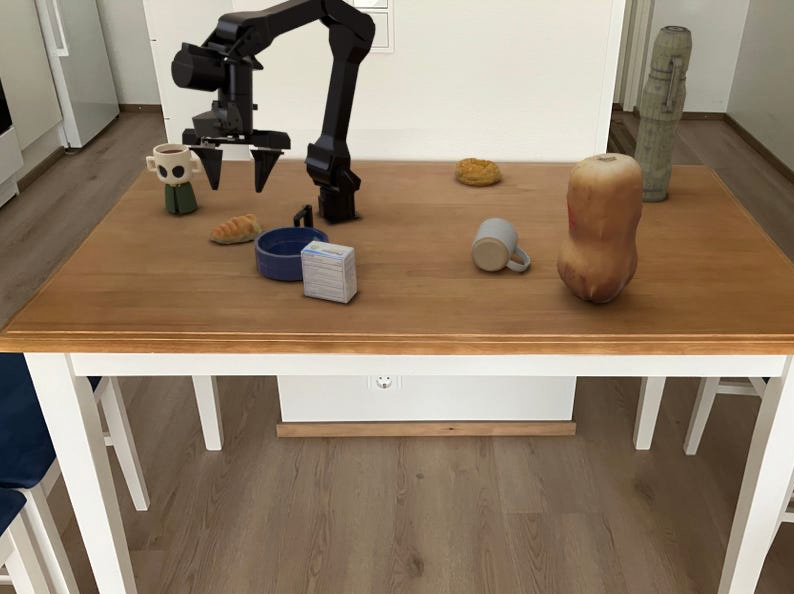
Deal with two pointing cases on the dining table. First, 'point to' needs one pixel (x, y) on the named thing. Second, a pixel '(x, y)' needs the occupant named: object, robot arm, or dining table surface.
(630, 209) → the butternut squash
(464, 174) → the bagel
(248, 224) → the pastry
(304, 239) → the basin
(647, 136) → the thermos
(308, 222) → the tap
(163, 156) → the character mug
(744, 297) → the dining table surface
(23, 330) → the dining table surface
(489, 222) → the ceramic mug
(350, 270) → the medicine box
